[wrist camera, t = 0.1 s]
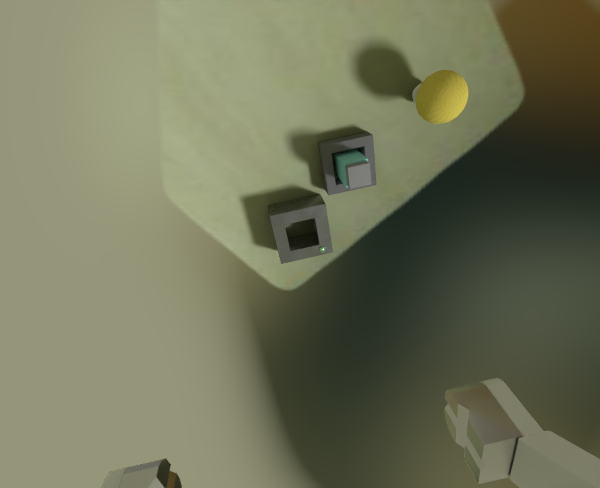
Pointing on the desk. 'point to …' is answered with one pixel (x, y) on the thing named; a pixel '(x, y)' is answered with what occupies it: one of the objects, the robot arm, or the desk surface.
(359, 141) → the frame
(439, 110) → the light bulb
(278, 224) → the port
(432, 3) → the desk surface
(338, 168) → the plug
